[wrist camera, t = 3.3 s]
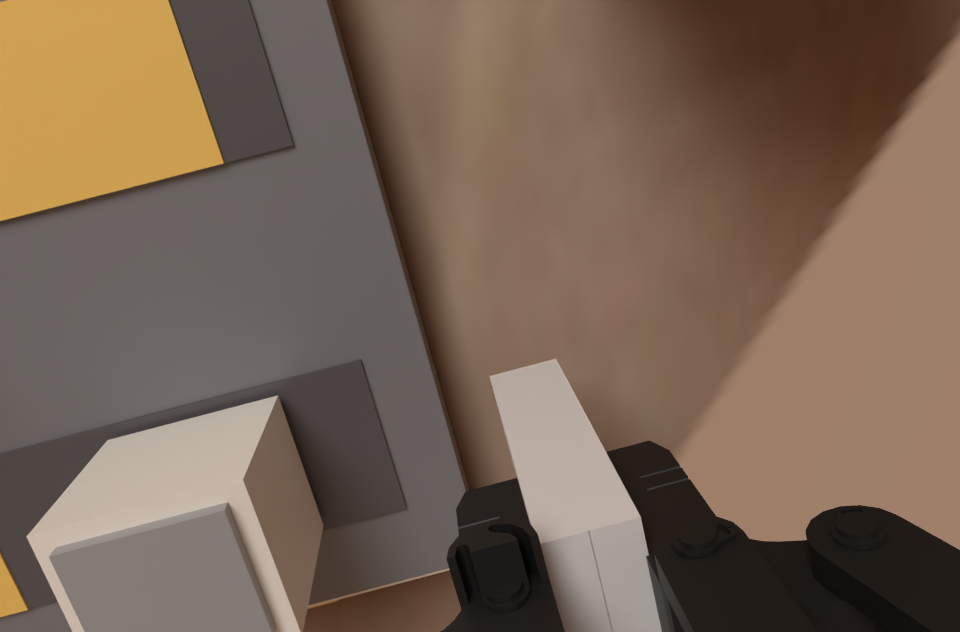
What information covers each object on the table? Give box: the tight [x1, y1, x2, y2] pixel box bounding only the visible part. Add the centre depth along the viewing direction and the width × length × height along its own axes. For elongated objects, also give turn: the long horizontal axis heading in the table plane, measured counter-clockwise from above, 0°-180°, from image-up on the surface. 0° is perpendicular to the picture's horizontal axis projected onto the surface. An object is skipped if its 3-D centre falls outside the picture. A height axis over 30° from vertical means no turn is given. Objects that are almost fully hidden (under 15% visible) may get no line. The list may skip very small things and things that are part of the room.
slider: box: [27, 396, 323, 632], centre depth 16 cm, size 4×4×4 cm
